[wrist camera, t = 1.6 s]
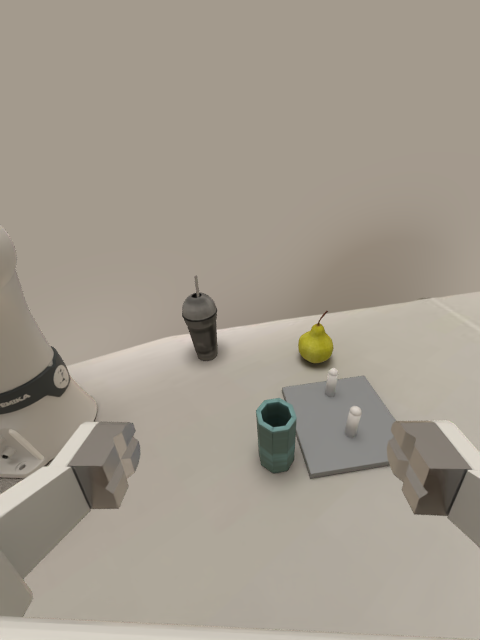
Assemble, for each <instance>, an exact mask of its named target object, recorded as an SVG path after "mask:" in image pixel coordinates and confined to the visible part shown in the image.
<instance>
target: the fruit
mask: <svg viewBox="0 0 480 640" xmlns="http://www.w3.org/2000/svg"><path fill="white" fill-rule="evenodd" d="M327 312H328V311H326V312H325V313H324V314H323V315H322V317H321V318H320V320H321V319H322V318H323V317H324V315H325V314H326V313H327ZM320 320H319V322H320ZM319 322H318V324H315V325H314V326H313V327H312V329H311V331H309V332H306V333H305V334H303V335H302V336H301V337H300V339H299V344H298V346H299V352H300V354H301V356H302V357H303V358H304V359H306V360H307V361H309V362H311V363H321V362H323V361H326V360H327V359H329V358H330V356H331V354H332V351H333V343H332V340H331V338H330V337H329V336H328V335H327V334H326V333H325V330H324V327H323V326H322V325H321V324H319Z"/></svg>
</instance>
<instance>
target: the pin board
mask: <svg viewBox="0 0 480 640" xmlns="http://www.w3.org/2000/svg"><path fill="white" fill-rule="evenodd" d="M337 377H338V371H337V370H336V369H335V368H331V369H329V371H328V377H327V381H323V382H316V383H310V384H303V385H296V386H289V387H282V393H283V396H284V399H285V401H286V402H288V403H290V404H291V405H292V406H293V408H294V411H295V414H296V417H297V420H296V436H297V439H298V442H299V445H300V448H301V451H302V454H303V457H304V460H305V463H306V466H307V469H308V473H309V476H310V478H315V477H321V476H327V475H333V474H339V473H345V472H351V471H358V470H364V469H370V468H376V467H382V466H388V465H389V462H388V457H387V445H388V441H389V440H390V439H392V438H393V437H394V436H393V434H392V432H391V427H392V424H393V423H394V422H395V421H396V420H395V419H394V417H393V416H392V415H391V413H390V412H389V410H388V409H387V407H386V406H385V405H384V403H383V402H382V400H381V399H380V397H379V396H378V395H377V393H376V392H375V390H374V389H373V387H372V386H371V385H370V383H369V382H368V380H367V379H366V377H365V376H358V377H351V378H344V379H337Z"/></svg>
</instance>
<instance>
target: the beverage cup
mask: <svg viewBox="0 0 480 640" xmlns="http://www.w3.org/2000/svg"><path fill="white" fill-rule="evenodd" d="M195 285H196V293H194V294H191V295H190V296H189V297H187V299H186V300H185V302H184V303H183V309H182V310H183V311H182V316H183V318H184V320H185V323H186V324H187V326H188V329H189V332H190V335H191V338H192V341H193V344H194V347H195V350H196V353H197V355H198V358H199V359H200V360H203V361H209V360H212V359H214V358H215V357H216V356H217V332H216V318H217V317H216V316H217V314H216V313H217V308H216V306H215V303H214V301H213V300H212V299H211V298H210V297H209V296H208V295H206V294H204V293H199V288H198V281H197V276H195Z"/></svg>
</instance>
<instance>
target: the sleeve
mask: <svg viewBox="0 0 480 640" xmlns="http://www.w3.org/2000/svg"><path fill="white" fill-rule="evenodd" d="M256 417H257V432H258V447H259V456H260V461H261V465H262V466H263V467H265V468H266V469H268V470H269V471H270V472H272V473H278V472H284V471H287V470H288V469H289V467H290V465H291V464H292V462H293V460H294V451H295V436H296V420H297V417H296V414H295V411H294V408H293V406H292V405H291V404H290V403H288V402H286V401H284V400H282V399H280V398H276V399H269V400H264V402H263V403H262V404H261V405H260V406H259V407H258V409H257V410H256Z"/></svg>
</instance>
